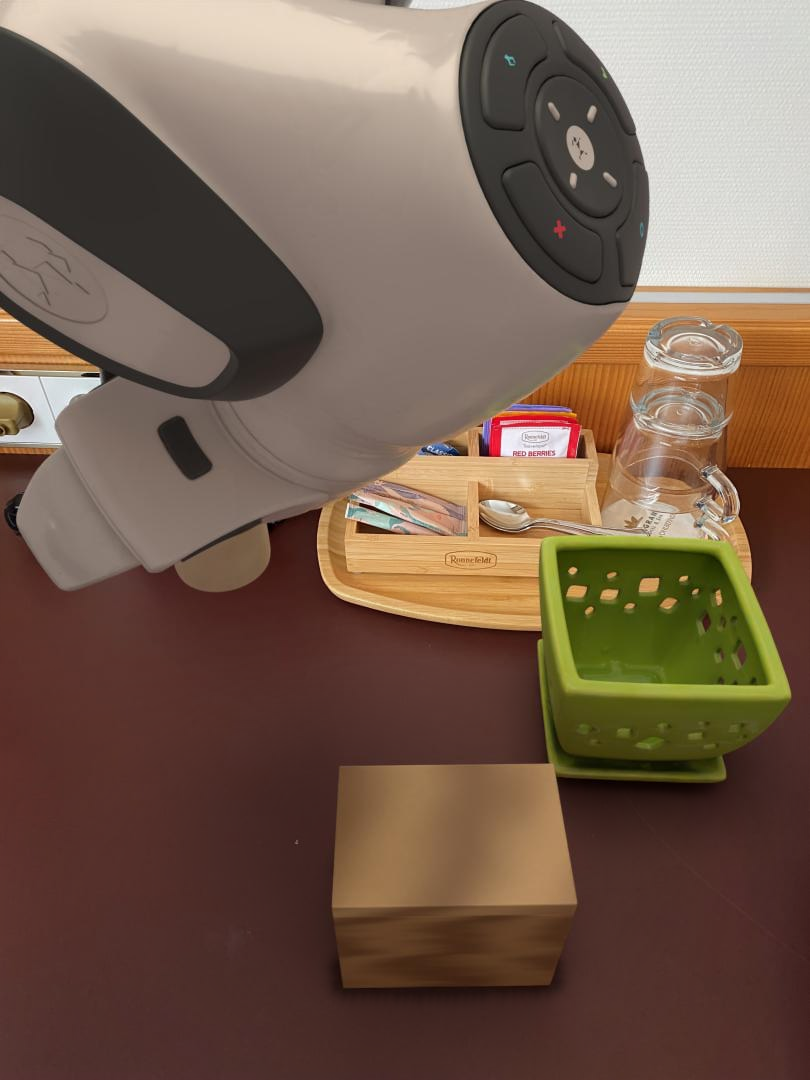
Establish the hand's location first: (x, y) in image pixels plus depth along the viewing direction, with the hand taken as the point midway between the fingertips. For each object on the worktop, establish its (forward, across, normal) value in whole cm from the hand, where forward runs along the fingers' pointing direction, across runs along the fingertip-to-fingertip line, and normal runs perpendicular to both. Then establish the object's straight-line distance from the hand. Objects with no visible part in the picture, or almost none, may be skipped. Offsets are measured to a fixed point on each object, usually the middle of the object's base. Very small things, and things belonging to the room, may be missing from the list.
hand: (199, 482), depth 43 cm
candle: (+4, 0, +4) cm, 6 cm away
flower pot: (+4, -20, +30) cm, 36 cm away
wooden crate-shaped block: (+4, 0, +30) cm, 30 cm away
